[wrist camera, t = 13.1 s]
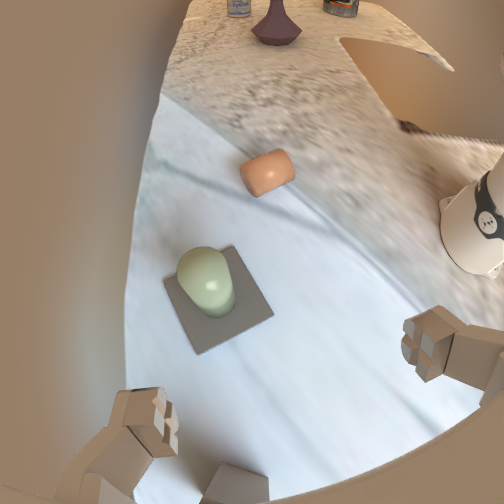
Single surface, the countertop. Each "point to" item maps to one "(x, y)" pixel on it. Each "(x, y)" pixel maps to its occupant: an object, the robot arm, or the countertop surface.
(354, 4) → the supplement tub
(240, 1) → the supplement tub
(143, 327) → the countertop surface
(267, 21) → the flask
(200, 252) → the pale green rounded cylinder
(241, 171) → the tan rounded cylinder
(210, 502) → the perfume bottle
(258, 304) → the plate
